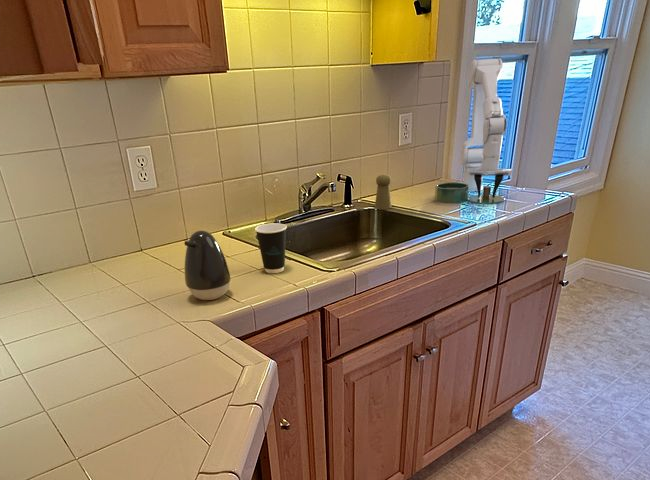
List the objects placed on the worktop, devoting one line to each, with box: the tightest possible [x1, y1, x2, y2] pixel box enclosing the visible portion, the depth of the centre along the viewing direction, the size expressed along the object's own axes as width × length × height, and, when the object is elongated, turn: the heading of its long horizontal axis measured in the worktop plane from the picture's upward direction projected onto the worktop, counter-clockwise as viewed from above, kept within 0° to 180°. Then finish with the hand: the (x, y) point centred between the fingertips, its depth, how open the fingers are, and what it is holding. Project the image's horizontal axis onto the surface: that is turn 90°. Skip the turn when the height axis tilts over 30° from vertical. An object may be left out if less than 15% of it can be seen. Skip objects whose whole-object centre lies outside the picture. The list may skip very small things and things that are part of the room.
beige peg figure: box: [374, 174, 393, 210], centre depth 177 cm, size 6×6×11 cm
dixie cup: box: [254, 222, 288, 274], centre depth 126 cm, size 8×8×11 cm
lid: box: [467, 185, 505, 205], centre depth 177 cm, size 12×12×5 cm
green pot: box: [434, 182, 469, 205], centre depth 180 cm, size 11×11×6 cm
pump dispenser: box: [183, 229, 232, 301], centre depth 112 cm, size 10×10×15 cm
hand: (486, 197), depth 177 cm, fingers open, 4 cm apart
